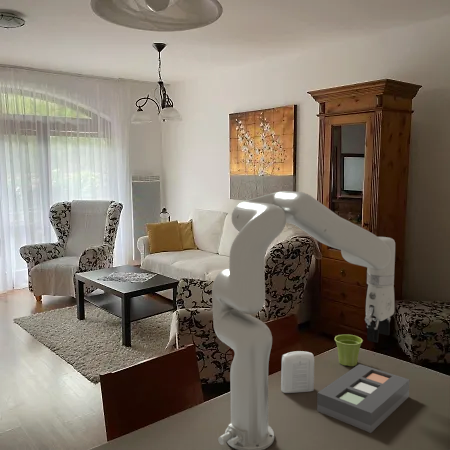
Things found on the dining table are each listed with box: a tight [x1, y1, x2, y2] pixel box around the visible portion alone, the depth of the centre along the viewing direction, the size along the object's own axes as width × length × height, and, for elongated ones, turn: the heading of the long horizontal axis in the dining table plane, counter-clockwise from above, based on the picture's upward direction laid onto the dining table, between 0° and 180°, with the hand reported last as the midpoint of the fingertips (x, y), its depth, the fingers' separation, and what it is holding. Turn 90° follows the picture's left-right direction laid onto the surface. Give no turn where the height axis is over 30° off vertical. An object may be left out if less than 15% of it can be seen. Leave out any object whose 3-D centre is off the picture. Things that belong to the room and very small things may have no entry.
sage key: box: [340, 392, 364, 405], centre depth 127 cm, size 6×6×2 cm
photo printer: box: [280, 350, 315, 394], centre depth 141 cm, size 10×4×12 cm, turn 98°
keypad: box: [316, 363, 411, 434], centre depth 133 cm, size 25×16×6 cm, turn 137°
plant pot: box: [334, 334, 364, 367], centre depth 160 cm, size 9×9×9 cm
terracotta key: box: [366, 373, 389, 384], centre depth 138 cm, size 6×6×2 cm
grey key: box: [353, 382, 377, 394], centre depth 133 cm, size 6×6×2 cm
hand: (378, 337), depth 137 cm, fingers open, 6 cm apart
